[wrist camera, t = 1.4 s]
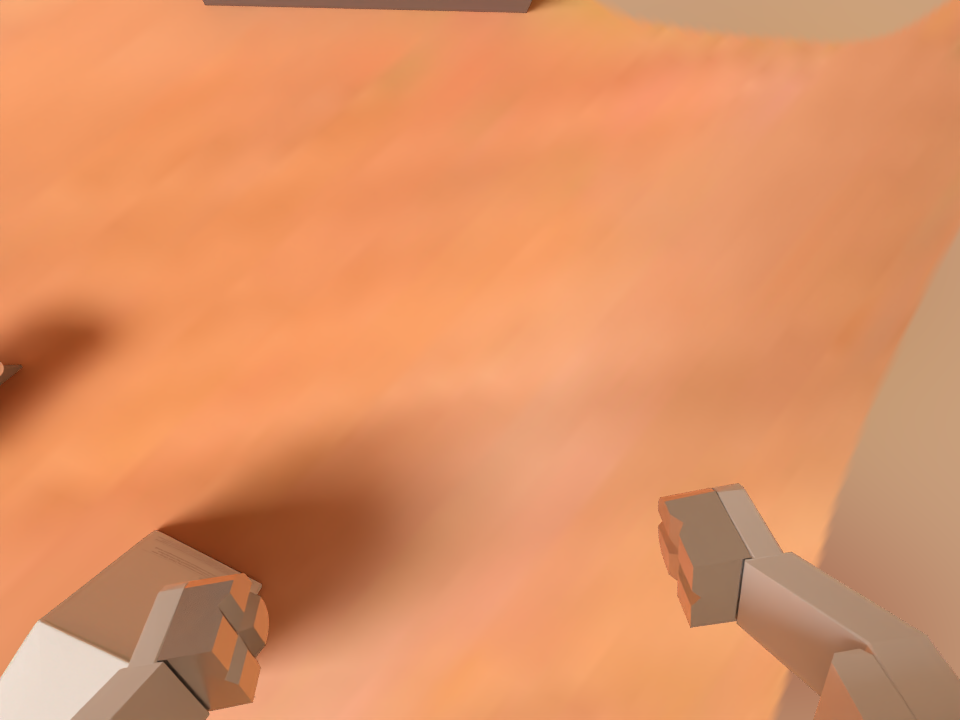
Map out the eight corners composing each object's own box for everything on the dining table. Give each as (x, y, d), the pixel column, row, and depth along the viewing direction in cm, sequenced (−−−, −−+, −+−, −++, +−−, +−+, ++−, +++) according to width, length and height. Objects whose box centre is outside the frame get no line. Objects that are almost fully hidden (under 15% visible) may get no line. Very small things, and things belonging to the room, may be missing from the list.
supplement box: (155, 524, 36) (38, 612, 23) (266, 583, 37) (211, 696, 24) (83, 636, 35) (-76, 787, 23) (199, 692, 36) (107, 865, 24)
